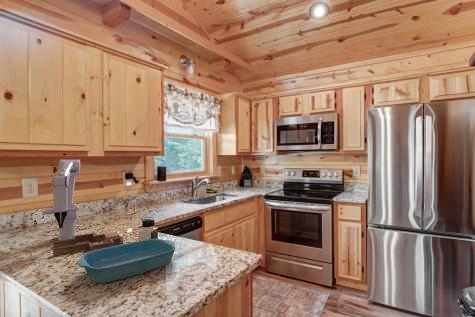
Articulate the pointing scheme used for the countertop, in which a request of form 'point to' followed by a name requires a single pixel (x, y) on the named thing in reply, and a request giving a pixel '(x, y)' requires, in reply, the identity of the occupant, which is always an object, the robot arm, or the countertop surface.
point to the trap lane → (84, 243)
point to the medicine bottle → (148, 230)
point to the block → (111, 236)
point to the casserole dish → (126, 259)
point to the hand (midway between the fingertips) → (60, 227)
